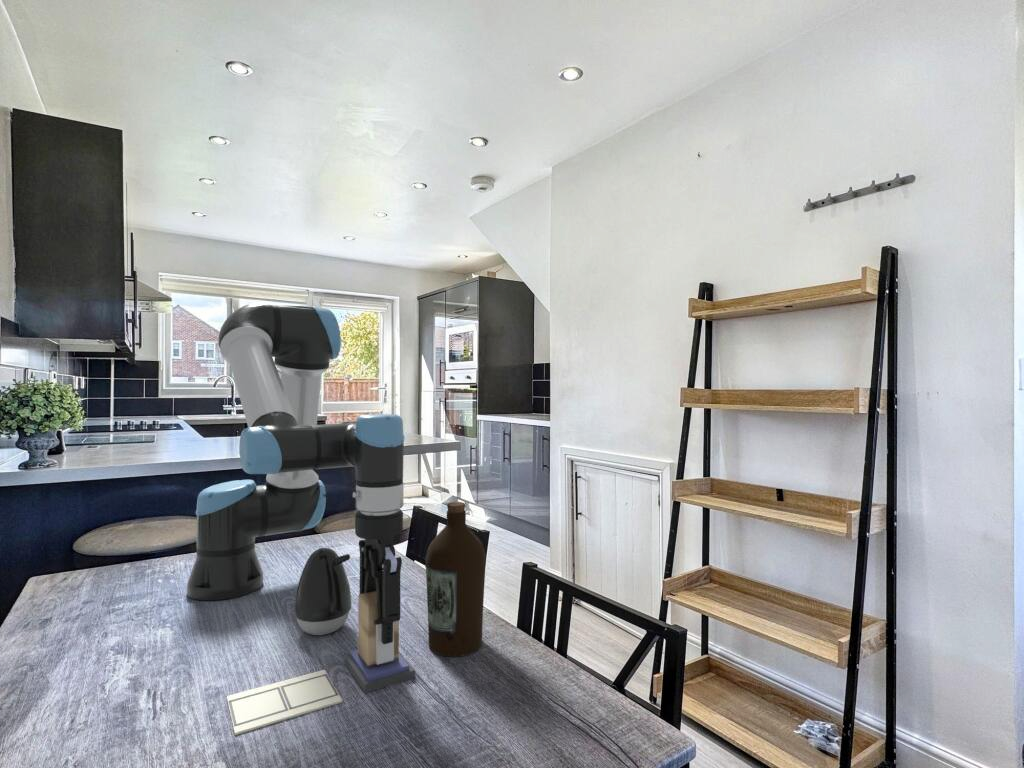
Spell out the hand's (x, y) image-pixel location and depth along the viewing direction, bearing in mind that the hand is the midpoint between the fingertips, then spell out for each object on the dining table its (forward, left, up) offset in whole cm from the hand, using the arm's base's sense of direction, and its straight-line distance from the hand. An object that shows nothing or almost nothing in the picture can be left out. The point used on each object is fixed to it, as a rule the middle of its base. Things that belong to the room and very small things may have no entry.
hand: (378, 653), depth 89 cm
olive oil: (-1, +14, -3) cm, 15 cm away
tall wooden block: (0, 0, -1) cm, 1 cm away
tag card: (+1, -15, -3) cm, 15 cm away
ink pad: (0, 0, -3) cm, 3 cm away
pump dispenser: (-20, -4, -3) cm, 20 cm away
